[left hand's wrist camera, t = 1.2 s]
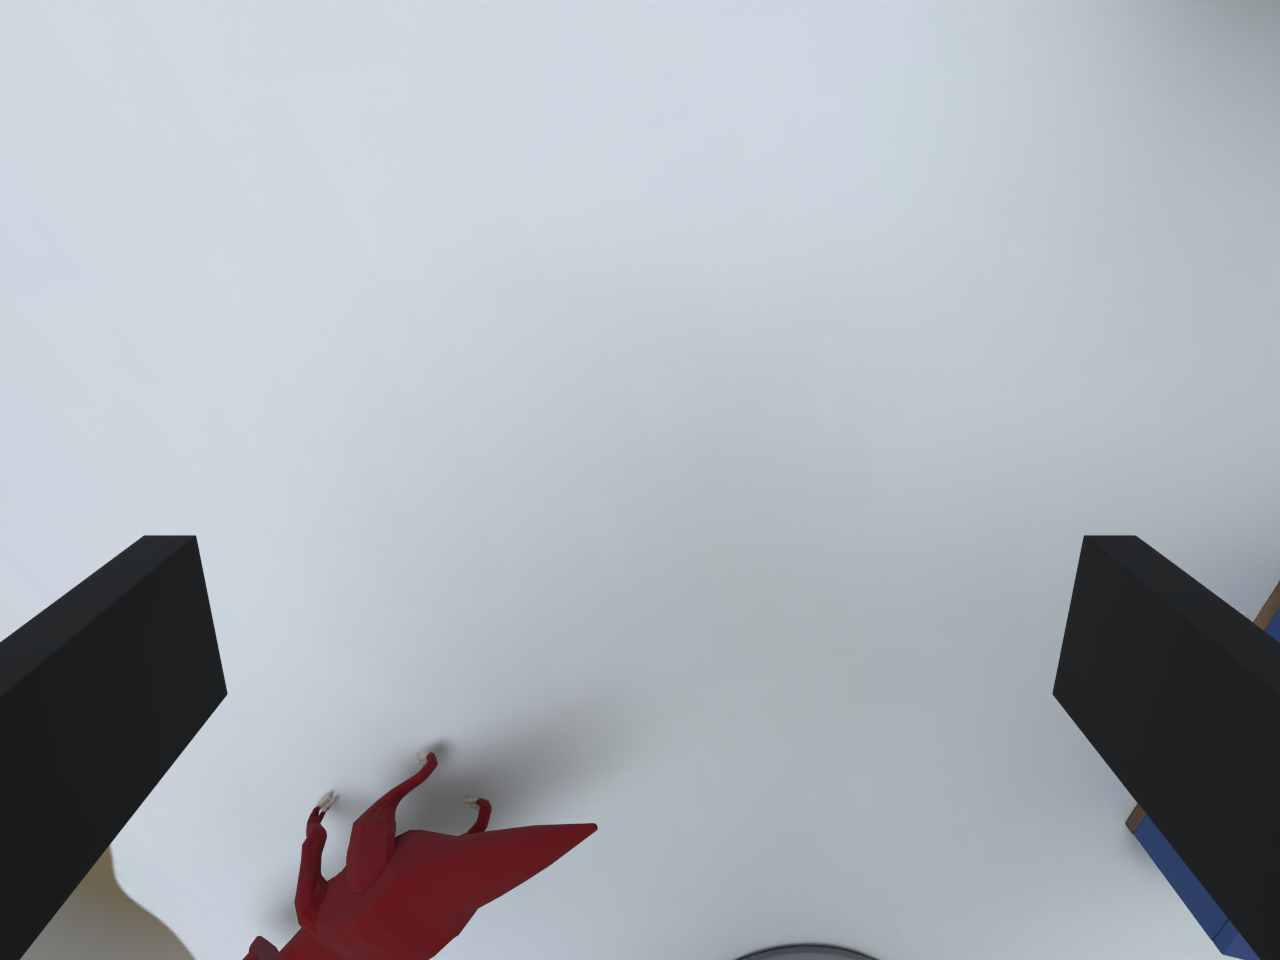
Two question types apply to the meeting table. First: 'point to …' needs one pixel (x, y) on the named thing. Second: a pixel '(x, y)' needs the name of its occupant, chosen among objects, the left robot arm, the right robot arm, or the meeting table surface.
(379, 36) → the meeting table surface
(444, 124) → the meeting table surface
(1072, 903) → the meeting table surface
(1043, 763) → the meeting table surface
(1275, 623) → the blue block
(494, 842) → the toy
